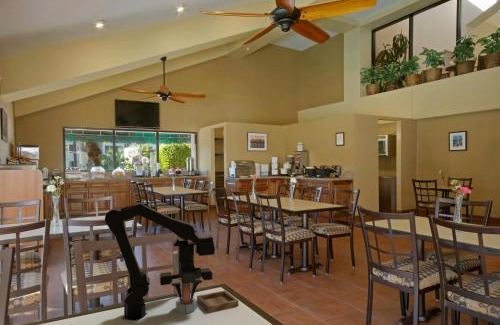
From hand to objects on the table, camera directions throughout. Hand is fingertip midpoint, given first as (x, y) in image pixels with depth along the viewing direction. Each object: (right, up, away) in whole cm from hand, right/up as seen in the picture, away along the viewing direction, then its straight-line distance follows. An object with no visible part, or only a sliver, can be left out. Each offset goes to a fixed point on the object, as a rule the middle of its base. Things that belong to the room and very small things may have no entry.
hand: (186, 299), depth 124 cm
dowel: (0, -3, 0) cm, 3 cm away
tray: (+11, -4, +5) cm, 13 cm away
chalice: (-4, -4, +14) cm, 15 cm away
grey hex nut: (0, -4, 0) cm, 4 cm away
